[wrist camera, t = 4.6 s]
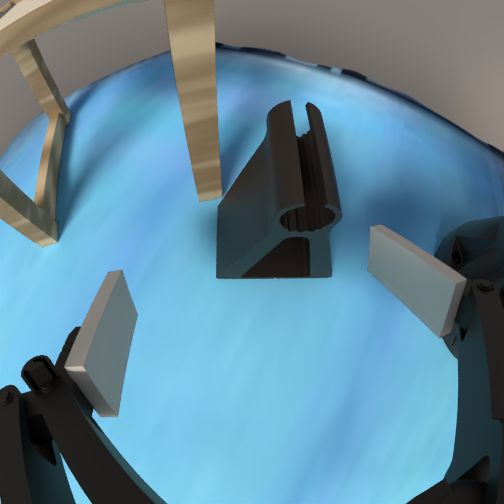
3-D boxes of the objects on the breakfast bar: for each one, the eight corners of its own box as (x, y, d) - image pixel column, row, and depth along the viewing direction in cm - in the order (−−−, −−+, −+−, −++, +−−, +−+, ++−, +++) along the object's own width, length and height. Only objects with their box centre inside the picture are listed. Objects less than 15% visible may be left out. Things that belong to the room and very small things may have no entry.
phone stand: (323, 210, 24) (379, 113, 13) (330, 278, 22) (411, 210, 11) (218, 208, 24) (208, 97, 12) (215, 278, 22) (196, 201, 10)
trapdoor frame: (222, 197, 24) (214, -38, 6) (42, 247, 21) (-97, 128, 4) (191, 78, 29) (180, -62, 11) (58, 119, 27) (1, 6, 9)
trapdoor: (154, 22, 10) (151, -22, 7) (-65, 128, 7) (-83, 103, 4) (153, -23, 14) (153, -48, 11) (-4, 37, 11) (-11, 17, 8)
